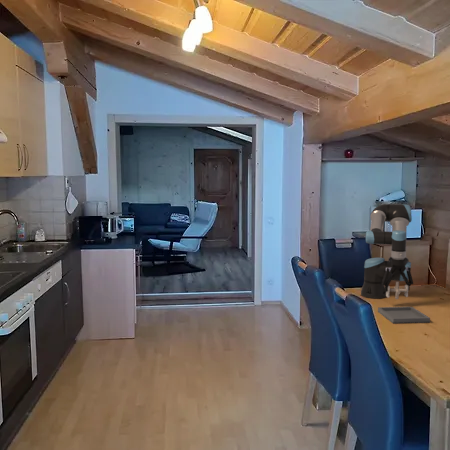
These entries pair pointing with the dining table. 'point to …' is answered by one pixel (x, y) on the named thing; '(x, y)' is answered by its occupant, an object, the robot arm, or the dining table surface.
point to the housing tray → (403, 315)
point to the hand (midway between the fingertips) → (396, 296)
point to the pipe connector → (397, 290)
